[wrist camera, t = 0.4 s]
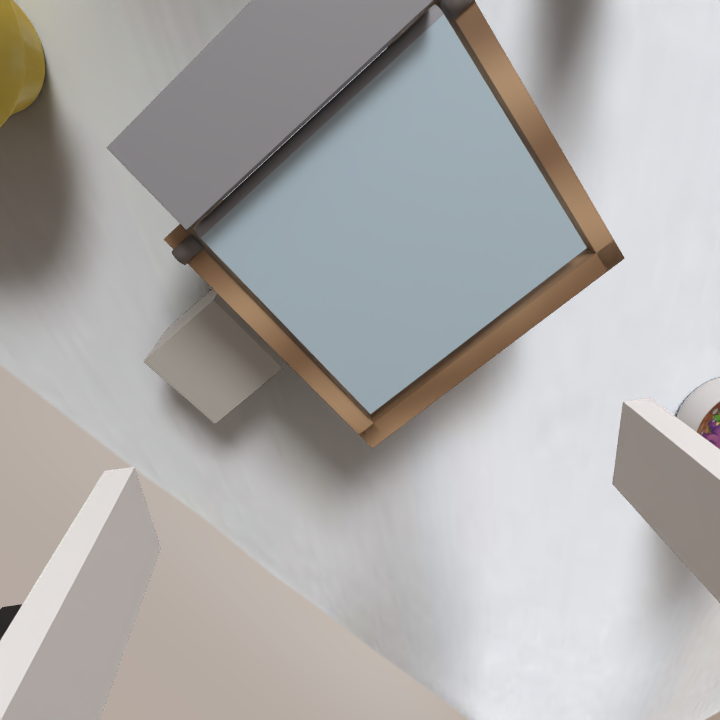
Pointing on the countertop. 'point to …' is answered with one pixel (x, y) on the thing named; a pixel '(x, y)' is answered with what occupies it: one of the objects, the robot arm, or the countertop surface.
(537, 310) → the trapdoor frame
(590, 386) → the countertop surface
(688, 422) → the milk bottle
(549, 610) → the countertop surface
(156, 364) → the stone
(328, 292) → the trapdoor
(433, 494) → the countertop surface
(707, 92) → the countertop surface
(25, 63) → the plant pot
